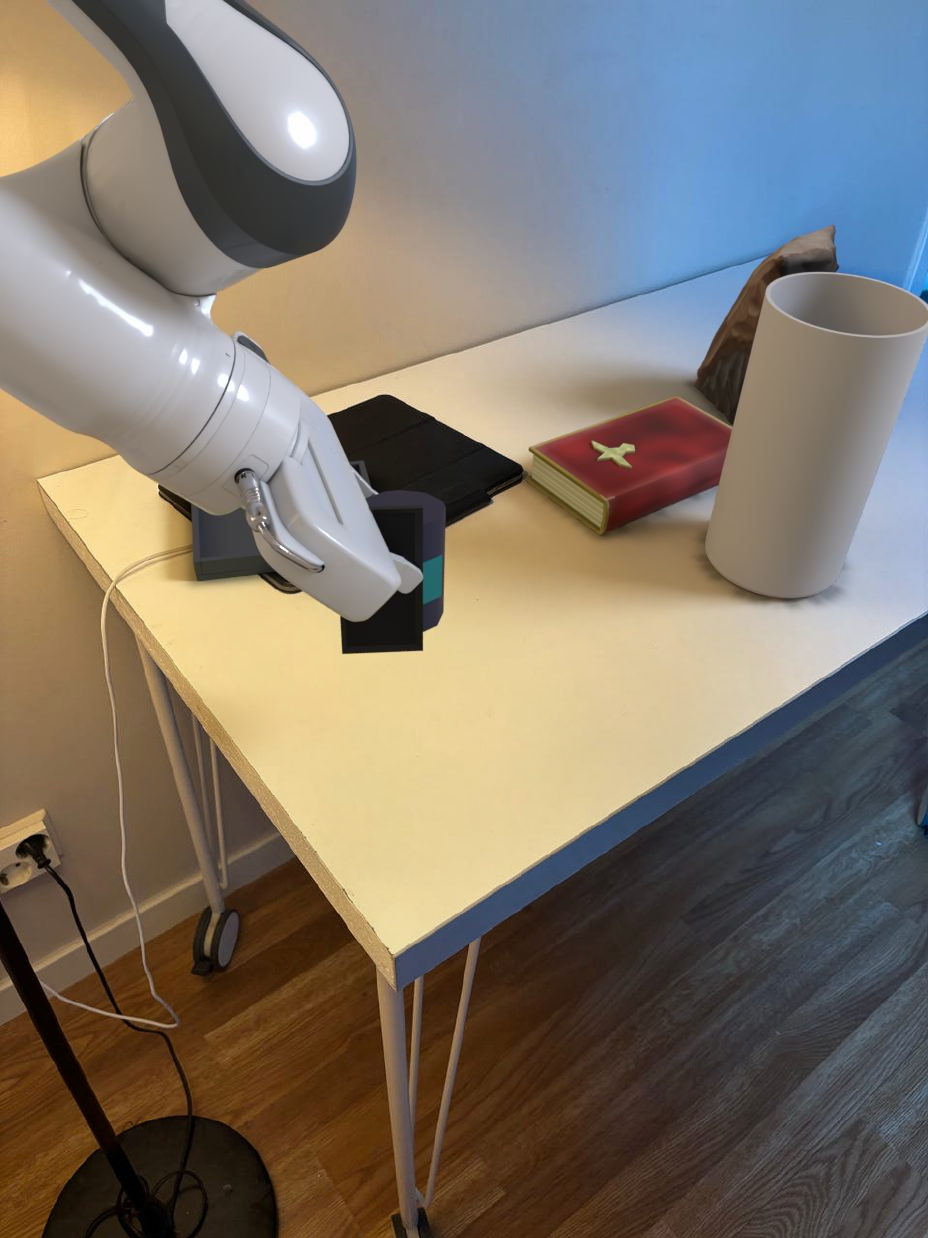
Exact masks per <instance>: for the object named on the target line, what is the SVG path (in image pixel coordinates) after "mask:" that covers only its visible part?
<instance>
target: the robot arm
mask: <svg viewBox="0 0 928 1238" xmlns="http://www.w3.org/2000/svg"><path fill="white" fill-rule="evenodd" d="M44 1H45V2H46V3H47V4H48V5H49V6H50V7H51V8H52V9H53V10H54V11H55V12H56V13H57V14H58V15H59V16H61V18H62V19H64V21H66V23H68V24H69V25H70V26H71V27H72V28H73V29H74V30H75V31H76V32H77V33H78V34H79V35H80V36H81V37H82V38H83V39H84V40H85V41H86V42H87V43H88V44H89V45H90V46H92V48H93V49H94V50H95V51H96V52H97V53H98V54H99V55H101V56H102V57H103V58H104V59H105V61H107V62H108V63H109V64H110V65H111V66H112V67H113V68H114V69H115V70H116V71H117V73H118V74H119V75H120V76H121V78H122V79H123V80H124V82H125V83H126V85H127V87H128V88H129V90H130V92H131V95H132V96H131V97H130V98H129V99H127V100H126V101H125V103H123V104H122V105H121V106H120V107H119V108H118V109H117V110H116V111H114V112H113V113H111V114H109V115H107V116H106V117H105V118H103V119H102V120H101V121H100V122H99V123H97V124H96V125H95V127H94V128H92V129H91V130H90V131H89V132H88V133H86V134H85V135H83V136H82V137H81V138H79V139H77V140H75V141H73V143H71V144H70V145H68V146H67V147H65V148H63V149H62V150H61V151H59V152H57V153H56V154H54V155H52V156H50V157H49V158H46V159H44V160H42V161H41V162H39V163H37V164H34V165H33V166H30V167H27V168H25V169H22V170H19V171H17V172H13V173H9V174H6V175H3V176H0V389H1V390H2V391H3V392H5V393H7V394H8V395H9V396H11V397H12V398H14V399H16V400H17V401H19V402H20V403H22V404H23V405H25V406H26V407H29V408H30V409H31V410H33V411H34V412H36V413H38V414H39V415H40V416H43V417H44V418H46V419H47V420H49V421H51V422H53V423H54V424H55V425H57V426H59V427H61V428H62V429H64V430H67V431H68V432H72V433H74V434H76V435H77V434H78V435H81V436H85V437H89V438H92V439H95V440H97V441H99V442H101V443H103V444H104V445H106V446H108V447H109V448H111V449H112V450H113V451H115V453H117V454H118V455H119V456H120V457H121V458H122V460H123V461H124V462H125V463H126V464H127V465H128V466H129V467H130V468H132V469H133V470H135V471H136V472H137V473H139V474H141V475H142V476H145V477H146V478H148V479H150V480H151V481H153V482H155V483H156V484H158V485H160V487H163V488H164V489H166V490H168V491H170V492H172V493H173V494H174V495H177V496H178V497H180V498H181V499H184V500H185V501H187V502H189V503H190V504H191V503H192V504H194V505H195V506H197V507H199V508H200V509H202V510H204V511H206V512H207V513H209V514H212V515H224V514H228V513H230V512H233V511H234V510H236V509H238V508H240V507H241V508H243V509H245V510H246V519H247V522H248V524H249V526H250V527H251V529H252V531H253V534H254V538H255V542H256V545H257V547H258V550H259V551H260V553H261V555H262V556H263V558H264V559H265V560H266V562H267V563H268V564H269V565H270V566H271V567H272V568H273V569H274V570H275V571H276V572H275V573H278V574H279V575H280V576H281V577H283V578H284V579H285V580H286V581H288V582H289V583H290V584H292V585H293V586H294V587H296V588H298V589H299V590H300V591H302V592H303V593H305V594H306V595H308V596H309V597H311V598H312V599H314V600H315V601H317V602H318V603H320V604H322V605H323V606H324V607H326V608H328V609H329V610H330V611H332V612H333V613H335V614H337V615H338V616H339V617H340V616H342V617H343V618H345V619H347V620H350V621H353V622H358V621H364V620H367V619H368V618H370V617H371V616H372V615H373V614H374V613H375V612H376V611H377V610H378V609H379V608H380V607H382V606H383V605H384V604H385V603H386V602H387V600H388V599H389V598H390V597H391V596H392V595H393V594H394V593H395V592H396V591H397V590H398V591H400V592H401V593H409V592H411V591H412V590H413V589H414V588H415V587H416V586H417V585H418V584H419V583H420V582H421V581H422V580H423V574H422V572H421V570H420V568H419V566H418V565H417V564H416V563H414V562H413V561H412V560H411V559H410V558H408V557H407V556H406V555H404V554H403V553H402V552H400V553H399V554H398V555H396V554H393V553H391V552H389V550H388V547H387V546H386V544H385V541H384V539H383V537H382V535H381V532H380V530H379V528H378V526H377V524H376V521H375V519H374V517H373V515H372V512H371V511H370V510H369V506H368V504H367V501H366V499H365V498H367V497H370V496H373V495H376V494H379V493H378V491H376V490H375V489H373V488H372V486H371V487H370V486H369V485H368V484H367V483H366V481H365V480H364V479H363V478H362V477H361V476H360V475H359V474H358V473H357V472H356V471H355V470H354V469H353V467H352V466H351V465H350V464H349V462H350V461H349V459H348V457H347V455H346V453H345V451H344V448H343V446H342V444H341V442H340V440H339V437H338V435H337V433H336V430H335V428H334V426H333V424H332V422H331V421H332V420H330V419H329V417H328V416H327V414H326V413H325V412H324V411H323V410H322V409H321V407H320V406H319V405H318V404H317V403H316V402H315V401H314V400H313V399H312V398H311V397H310V396H309V395H307V394H306V393H305V392H304V391H303V390H302V389H300V387H298V386H297V385H296V384H294V382H292V381H291V380H290V379H289V378H287V377H286V375H284V374H283V373H282V372H281V371H280V370H279V369H277V368H276V367H275V366H273V365H272V364H271V362H270V361H269V359H268V358H267V355H266V353H265V352H264V350H263V348H262V347H261V346H260V345H259V344H258V343H257V342H256V341H254V340H253V339H252V338H251V337H250V336H248V335H247V334H245V333H244V332H242V331H240V330H235V331H234V332H232V334H230V335H228V333H226V332H225V331H223V330H222V329H220V328H219V327H218V326H217V325H216V324H215V323H214V321H213V319H212V313H211V312H212V307H213V305H214V304H215V301H216V298H217V297H218V293H221V292H223V291H225V290H227V289H229V288H231V287H232V286H234V285H235V286H236V285H237V284H239V283H241V282H242V281H244V280H246V279H247V278H250V277H252V276H254V275H255V274H257V273H259V272H261V271H263V270H264V269H270V268H273V267H277V266H279V265H282V264H286V263H288V262H291V261H294V260H296V259H300V258H301V257H302V258H303V257H304V256H308V255H311V254H314V253H317V252H319V251H321V250H323V249H325V248H326V247H328V246H329V245H330V244H331V243H332V242H333V241H334V240H336V239H337V237H338V236H339V234H340V233H341V231H342V230H343V229H344V226H345V224H346V222H347V220H348V218H349V214H350V212H351V209H352V204H353V200H354V195H355V189H356V180H357V165H358V164H357V162H358V160H357V159H358V158H357V145H356V138H355V137H356V136H355V131H354V126H353V123H352V119H351V116H350V112H349V110H348V108H347V105H346V103H345V100H344V98H343V96H342V95H341V92H340V90H339V88H338V87H337V85H336V84H335V82H334V80H332V77H330V75H329V74H328V72H327V71H326V70H325V69H324V67H322V65H321V64H320V63H319V62H318V60H316V59H315V57H314V56H313V55H312V54H310V53H309V52H308V51H307V50H306V49H305V48H304V47H303V46H302V45H301V44H300V43H299V42H297V40H295V39H293V38H292V36H290V35H289V34H288V33H286V32H285V31H284V30H283V29H281V28H280V27H279V26H278V25H276V24H275V23H273V22H272V21H271V20H270V19H268V18H267V17H266V16H265V15H263V14H262V13H261V12H260V11H258V9H256V8H255V7H253V6H252V5H251V4H250V3H248V2H247V1H246V0H44Z"/></svg>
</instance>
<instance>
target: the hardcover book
mask: <svg viewBox="0 0 928 1238" xmlns="http://www.w3.org/2000/svg"><path fill="white" fill-rule="evenodd" d="M732 428H733V426H731V425H730V424H728V423H726V422H724V421H722V420H721V419H719V418H717V417H716V416H714V415H712V414H710V413H709V412H707V411H705V410H703V409H702V408H699V407H698V406H697V405H695V404H692V402H689V401H687V400H686V399H684V398H682V397H680V396H678V395H676V394H675V395H674V396H671V397H668V398H665V399H663V400H659V401H657V402H654V403H651V404H649V405H645V406H643V407H640V408H637V409H633V410H631V411H628V412H626V413H622V414H620V415H619V414H618V415H617V416H614V417H611V418H608V419H605V420H602V421H600V422H596V423H594V424H591V425H588V426H585V427H583V428H580V429H577V430H574V431H571V432H569V433H565V434H562V435H560V436H557V437H555V438H551V439H549V440H546V441H542V442H540V443H537V444H534V445H532V446H528V452H530V453H531V454H532V455H533V456H532V457H533V458H532V469H531V475H528V476H526V477H525V481H526V482H528V483H529V484H530V485H532V486H533V487H534V488H536V489H537V490H538V491H539V492H541V493H542V494H544V495H545V496H546V497H548V498H549V499H550V500H551V501H553V502H555V504H557V505H559V507H561V508H562V509H564V510H565V511H566V512H568V513H569V514H570V515H572V516H573V517H574V518H576V519H577V520H578V521H580V522H581V523H582V524H584V525H585V526H587V527H588V528H589V529H590V530H592V531H594V532H595V533H596V534H597V535H599V536H602V535H603V534H605V533H609V532H610V531H612V530H615V529H617V528H620V527H622V526H624V525H626V524H630V523H631V522H634V521H636V520H638V519H641V518H643V517H644V518H645V517H646V516H648V515H650V514H651V515H652V514H653V513H655V512H657V511H660V510H663V509H664V508H667V507H669V506H671V505H674V504H677V503H679V502H681V501H684V500H686V499H689V498H691V497H693V496H696V495H698V494H701V493H702V492H705V491H707V490H709V489H712V488H714V487H718V486H719V482H720V478H721V474H722V469H723V465H724V461H725V457H726V453H727V449H728V445H729V441H730V436H731V432H732Z"/></svg>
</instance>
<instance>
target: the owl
mask: <svg viewBox="0 0 928 1238" xmlns="http://www.w3.org/2000/svg"><path fill="white" fill-rule="evenodd" d="M836 233H837V230H836V225H835V224H830V225H827V226H825V227H823V228H820V229H818V230H815V231H813V232H809V233H806V234H803V235H800V236H796V237H793V239H791V240H790V241H788V242H787V243H784V244H783V245H781V246H780V247H778V248H777V249H776V250H775V251H774V252H772V253H770V254H769V255H768V256H766V257H765V258H764V259H763V260H762V261H761V262H760V263H759V265H757V266H756V268H754V269H753V271H752V272H751V274H750V276H749V278H748V279H747V281H746V282H745V283H744V285H743V287H742V288H741V290H740V292H739V294H738V295H737V297H736V299H735V301H734V302H733V304H732V305H731V307H730V309H729V311H728V313H727V315H725V317H724V319H723V321H722V322H721V325H720V326H719V328H718V330H717V331H716V332H715V334H714V336H713V339H712V340H711V343H710V345H709V347H708V350H707V352H706V354H705V356H704V359H703V360H702V362H701V364H700V366H699V367H698V368H697V371H696V376H697V377H696V381H695V382H694V384H693V386H694V387H695V388H696V389H698V391H700V392H701V393H702V395H704V396H705V398H706V399H707V400H708V401H709V402H711V403H712V404H713V405H714V406H715V409H716V410H717V411H719V412H720V413H722V414H723V415H725V416H726V419H727V421H728V422H729V423H731V424H732V425H733V424H734V420H735V416H736V412H737V408H738V404H739V399H740V395H741V391H742V387H743V383H744V379H745V375H746V371H747V367H748V362H749V358H750V354H751V350H752V346H753V342H754V338H755V334H756V329H757V325H758V321H759V317H760V313H761V309H762V305H763V301H764V297H765V292H766V289H767V287H768V285H769V284H770V283H772V282H773V281H775V280H776V279H779V278H781V277H784V276H787V275H792V274H798V273H807V272H832V273H837V271H838V270H839V269H840V264H838V258H837V246H836V245H835V235H836Z"/></svg>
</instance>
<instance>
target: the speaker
mask: <svg viewBox="0 0 928 1238" xmlns="http://www.w3.org/2000/svg"><path fill="white" fill-rule="evenodd" d="M365 499H366V501H367V504H368V506H369V510H370V511H371V512H372V515H373V517H374V519H375V521H376V524H377V526H378V528H379V530H380V532H381V535H382V537H383V539H384V541H385V544H386V546H387V547H388V550H389V552H391V553H393V554H396V555H398V554H399V553H400V552H402V553H403V554H404V555H406V556H407V557H408V558H410V559H411V560H412V561H413V562H414V563H416V564H417V565H418V566H419V568H420V570H421V572H422V574H423V580H422V581H421V582H420V583H419V584H418V585H417V586H416V587H415V588H414V589H413V590H412V591H411V592H409V593H401V592H400V591H398V590H397V591H396V592H395V593H394V594H393V595H392V596H391V597H390V598H389V599H388V600H387V602H386V603H385V604H384V605H383V606H382V607H380V608H379V609H378V610H377V611H376V612H375V613H374V614H373V615H372V616H371V617H370V618H368V619H367V620H364V621H358V622H353V621H350V620H347V619H345V618H343V617H342V616H340V615H339V622H340V638H341V654H342V655H354V654H357V655H358V654H379V653H380V654H381V653H405V652H406V653H407V652H424V633H425V632H427V631H429V630H431V629H434V628H436V627H438V625H439V624H440V621H441V618H442V617H443V614H444V611H445V610H444V609H445V608H444V606H445V567H446V566H445V563H446V562H445V561H446V523H447V521H446V519H447V517H446V516H447V515H446V514H447V506H446V505H445V503H444V501H443V500H441V499H439V498H437V497H435V496H433V495H431V494H429V493H427V492H422V491H414V490H413V491H411V490H403V489H396V490H384V491H383V492H380V493H379V494H376V495H373V496H370V497H367V498H365Z"/></svg>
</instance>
